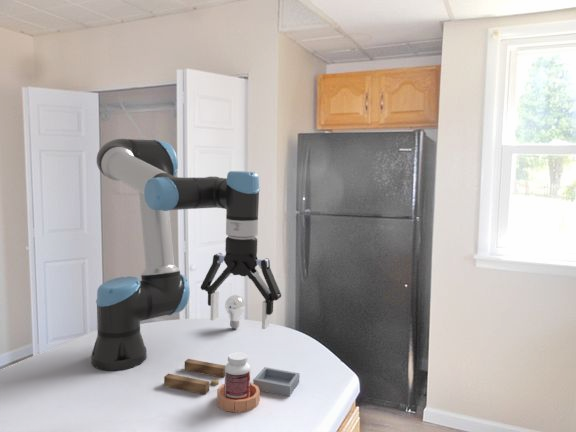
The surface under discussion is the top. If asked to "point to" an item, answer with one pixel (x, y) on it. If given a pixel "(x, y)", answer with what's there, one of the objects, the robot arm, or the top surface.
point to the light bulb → (235, 309)
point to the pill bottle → (237, 377)
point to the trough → (277, 381)
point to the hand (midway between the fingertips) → (239, 322)
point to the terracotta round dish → (238, 404)
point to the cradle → (192, 383)
